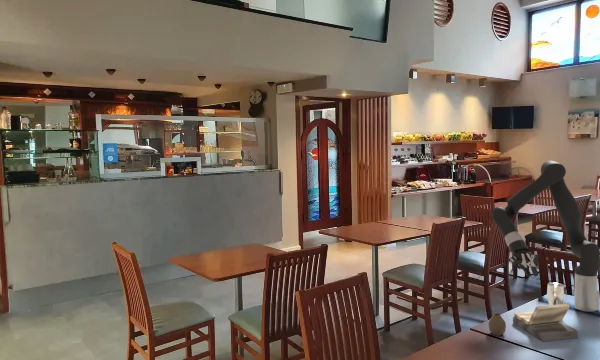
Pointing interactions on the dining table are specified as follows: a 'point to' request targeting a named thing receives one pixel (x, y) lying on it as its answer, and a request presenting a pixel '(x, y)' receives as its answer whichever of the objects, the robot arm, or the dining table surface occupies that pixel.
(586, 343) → the dining table surface
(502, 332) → the vase
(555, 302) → the metal can
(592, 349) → the dining table surface
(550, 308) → the oak plank
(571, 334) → the floor board
